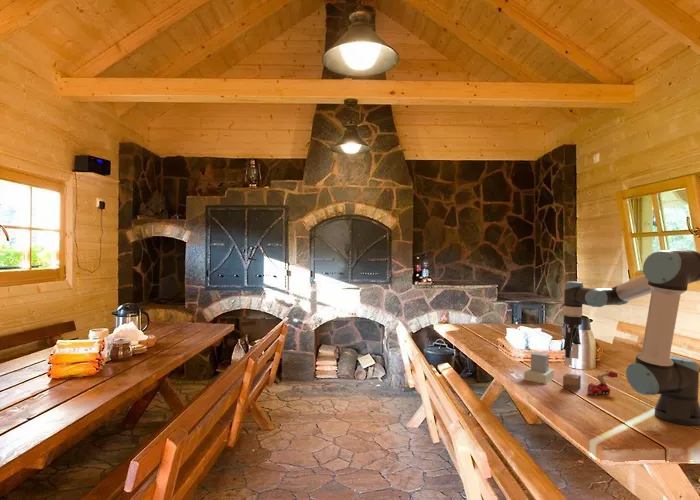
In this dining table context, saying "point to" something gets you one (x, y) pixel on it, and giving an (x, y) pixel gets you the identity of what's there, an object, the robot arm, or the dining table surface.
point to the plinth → (539, 376)
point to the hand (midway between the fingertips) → (571, 361)
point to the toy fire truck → (601, 384)
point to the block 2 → (571, 382)
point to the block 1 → (539, 362)
